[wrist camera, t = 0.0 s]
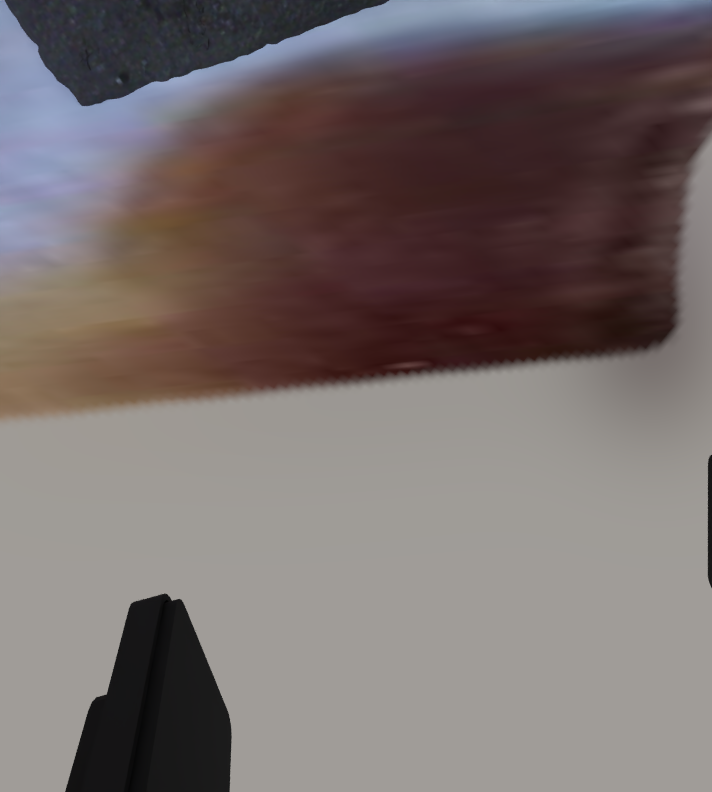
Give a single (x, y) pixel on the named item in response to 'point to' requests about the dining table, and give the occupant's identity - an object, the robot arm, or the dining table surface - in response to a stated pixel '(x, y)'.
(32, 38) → the dark slate chunk
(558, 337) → the dining table surface
